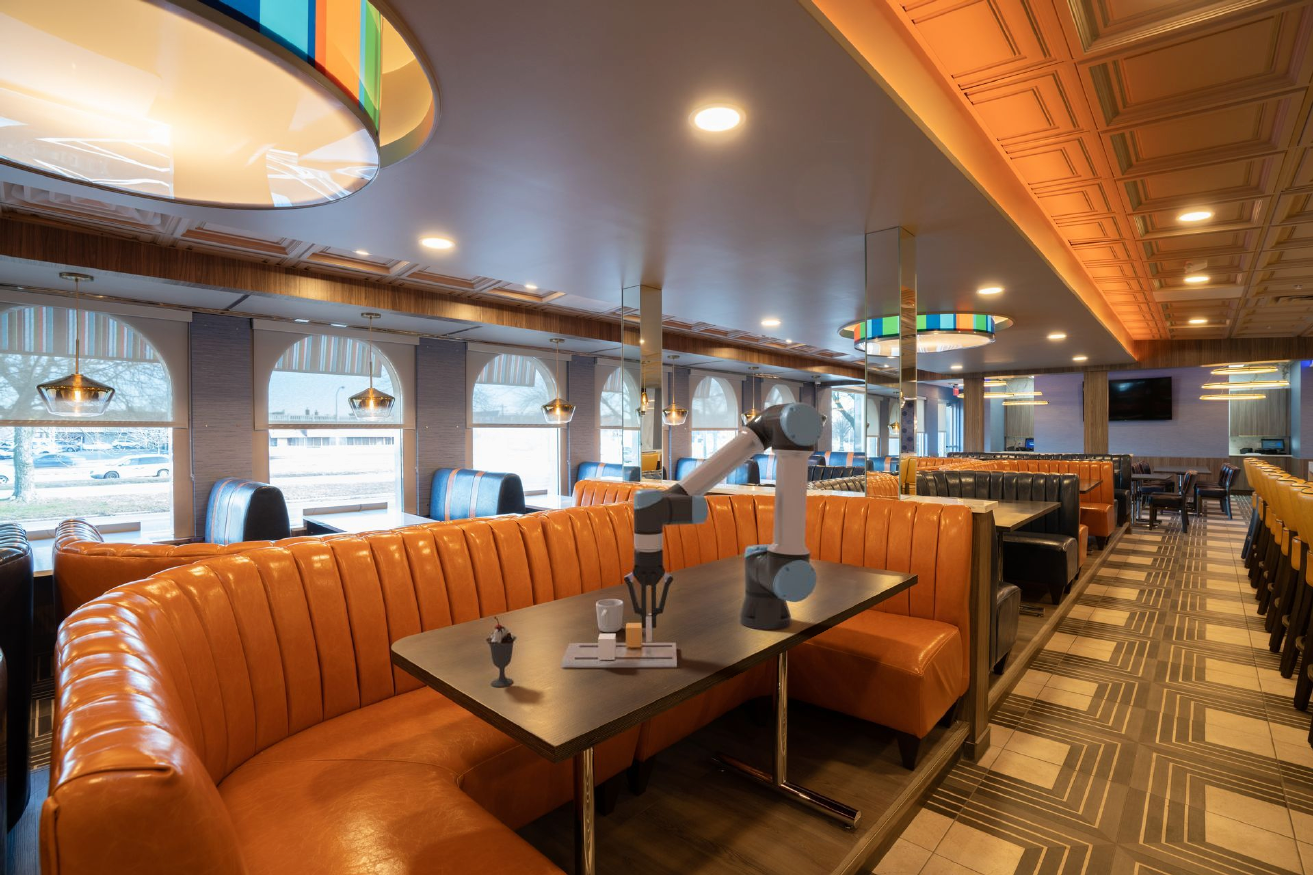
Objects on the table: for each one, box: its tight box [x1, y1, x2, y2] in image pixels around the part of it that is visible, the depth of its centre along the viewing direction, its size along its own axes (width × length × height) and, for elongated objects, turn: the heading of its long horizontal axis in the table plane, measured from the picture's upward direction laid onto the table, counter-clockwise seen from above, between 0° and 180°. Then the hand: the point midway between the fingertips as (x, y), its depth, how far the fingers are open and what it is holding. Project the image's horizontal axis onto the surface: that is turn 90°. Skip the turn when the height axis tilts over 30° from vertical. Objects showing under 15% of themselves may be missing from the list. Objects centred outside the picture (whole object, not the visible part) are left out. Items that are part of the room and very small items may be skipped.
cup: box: [595, 598, 624, 633], centre depth 175 cm, size 11×8×8 cm
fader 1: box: [597, 633, 617, 660], centre depth 150 cm, size 4×4×5 cm
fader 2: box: [625, 622, 643, 647], centre depth 158 cm, size 4×4×5 cm
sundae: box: [485, 615, 517, 688], centre depth 139 cm, size 7×7×15 cm
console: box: [560, 642, 678, 669], centre depth 154 cm, size 28×13×2 cm, turn 89°
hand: (649, 640), depth 158 cm, fingers closed
